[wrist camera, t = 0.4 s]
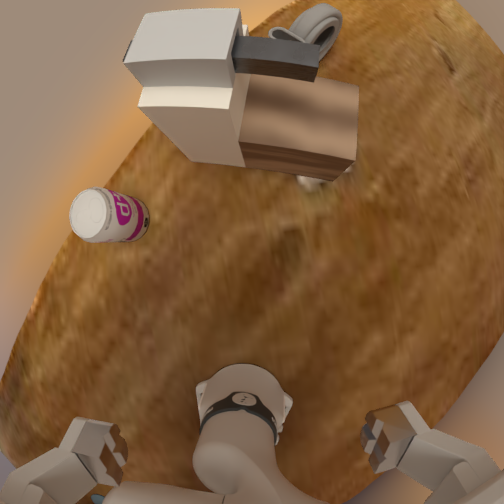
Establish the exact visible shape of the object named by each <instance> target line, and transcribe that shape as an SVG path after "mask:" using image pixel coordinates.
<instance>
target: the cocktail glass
mask: <svg viewBox="0 0 504 504" xmlns="http://www.w3.org/2000/svg"><path fill="white" fill-rule="evenodd" d="M104 498H105V497H104V496H101V495H97V494H93V495H92V496H91V499H92V501H93V502H94V503H95V504H102V502H103V500H104Z"/></svg>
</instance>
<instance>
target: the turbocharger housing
mask: <svg viewBox="0 0 504 504" xmlns="http://www.w3.org/2000/svg"><path fill="white" fill-rule="evenodd" d="M341 26H342V14H341V12H340V11H339V10H337V9H336V8H334V7H332V6H330V5H329V4H326V3H321V4H318V5H315V6H314V7H312V8H310V9H308V10H306V11H305V12H303V13H302V14H301V15H300V16H299V17H298V18H297V19H296V20H295V21H294V23H293V24H292V25H291V27H290V29H289V30H287V29H285V28H283V27H274V28H272V29H270V30H269V32H268V35H269V37H270V38H273V39H282V40H291V41H297V42H303V43H309V44H315V45H320V52H319V61H320V60H321V59H322V58H323V57H324V56H325V54H326V53H327V52H328V50H329V49H330V48H331V46H332V45H333V43H334V41H335V40H336V38H337V36H338V34H339V32H340V29H341Z"/></svg>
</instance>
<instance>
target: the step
mask: <svg viewBox="0 0 504 504" xmlns="http://www.w3.org/2000/svg"><path fill="white" fill-rule="evenodd" d="M358 104H359V86H357V85H353V84H349V83H345V82H340V81H336V80H331V79H326V78H321V77H316V78H315V81H314V83H313V82H308V81H302V80H295V79H289V78H282V77H274V76H265V75H256V74H251V76H250V81H249V86H248V91H247V96H246V101H245V107H244V112H243V117H242V123H241V128H240V134H239V139H238V143H239V146H240V149H241V153H242V156H243V159H244V163H245V166H246V167H247V168H254V169H262V170H269V171H276V172H282V173H289V174H295V175H301V176H307V177H312V178H318V179H324V180H329V181H334V180H335V179H336V178H337V177H338V176H339V175H340V174H341V173H342V172H344V171H345V170H346V169H347V168H348V167H349V166H350V165H351V164H352V163H353V162H355V159H356V145H357V128H358Z"/></svg>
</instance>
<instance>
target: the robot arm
mask: <svg viewBox="0 0 504 504" xmlns="http://www.w3.org/2000/svg"><path fill="white" fill-rule="evenodd" d="M201 393H202V394H201ZM196 396H197V403H198V409H199V416H200V422H201V424H200V437H199V440H198V443H197V445H196V448H195V451H194V454H193V460H192V462H193V468H194V471H195V473H196V475H197V476H198V478H199V479H200V480H201V481H202V483H203V484H204V485H205V486H206V487H207V488H209V489H210V490H211V491H213V492H215V493H210V492H204V491H197V490H192V489H186V488H181V487H176V486H172V485H167V484H157V483H146V482H135V481H125V482H122V483H121V479H122V476H123V471H122V469H121V466H123V465H124V464H125V463H126V461H127V457H128V448H127V443H126V441H125V439H124V438H122V437H121V436H120V435H119V434H120V429H119V427H118V425H117V424H112V423H107V422H102V421H96V420H92V419H86V418H82V417H76V418H74V419H73V421H72V423H71V425H70V427H69V429H68V431H67V432H66V434H65V436H64V438H63V440H62V442H61V444H60V446H59V448H53V449H52V450H50V451H48V452H47V453H45V454H43V455H41V456H40V457H38V458H36V459H34V460H32V461H31V462H29V463H27V464H25V465H23V466H22V467H20V468H18V469H16V470H14V471H13V472H11V473H10V474H9V476H8V478H7V480H6V482H5V484H4V486H3V488H2V490H1V492H0V504H75V503H77V502H78V501H79V500H80V499H81V498H82V497H83V496H85V495H86V494H87V493H88V492H89V491H90V490H91V489H92V488H94V487H95V486H96V485H97V483H101V484H105V485H111V486H115V487H114V488H113V489H112V490H111V491H110V492H109V493H108V494H107V495H106V497H105V498H104V500H103V502H102V504H330V503H327V502H324V501H321V500H318V499H316V498H313V497H311V496H309V495H307V494H305V493H304V492H302V491H300V490H299V489H297V488H296V487H295V486H294V485H292V484H291V483H290V482H289V481H288V480H287V479H286V478H285V477H284V476H283V475H282V473H281V472H280V470H279V468H278V466H277V463H276V457H275V448H274V447H275V445H277V443H278V441H279V435H278V432H282V430H283V426H282V424H283V423H284V422H285V418H286V416H287V414H288V412H289V410H290V408H291V407H292V404H293V399H292V398H291V397H290V396H289V395H288V394H287V393H285V392H284V391H283V390H282V388H281V386H280V384H279V383H278V381H277V380H276V378H275V377H274V376H273V375H272V374H271V373H269V372H268V371H267V370H265V369H263V368H261V367H258V366H255V365H251V364H235V365H230V366H227V367H225V368H223V369H221V370H220V371H218V372H217V373H216V374H215V375H214V376H213V377H212V378H210V379H209V380H206V381H203V382H200V383H198V384H197V386H196ZM285 406H286V407H285ZM365 420H366V422H367V423H366V424H365V425H364V426H363V427H362V430H361V433H360V437H361V444H362V447H363V449H364V451H365V452H367V453H369V454H370V457H369V463H370V465H371V467H372V469H373V471H374V473H375V474H376V473H379V472H383V471H386V470H389V469H392V468H395V467H397V469H398V470H400V471H401V472H403V473H404V474H406V475H407V476H409V477H411V478H412V479H414V480H415V481H417V482H419V483H420V484H422V485H423V486H425V487H427V488H428V489H430V490H432V491H433V493H432V494H431V495H430V496H429V497H428V498H427V499H426V500H425V502H424V504H504V469H503V470H502V471H501V470H500V469H499V467H498V466H497V465H496V463H495V462H494V461H493V459H492V458H491V457H490V456H489V454H488V453H487V452H486V450H485V449H484V448H482V447H479V446H476V445H474V444H471V443H468V442H466V441H463V440H461V439H458V438H455V437H453V436H450V435H448V434H446V433H443V432H441V431H438V430H436V429H431V430H430V428H429V427H428V426H427V424H426V423H425V421H424V420H423V419H422V417H421V416H420V414H419V413H418V412H417V410H416V409H415V408H414V406H413V405H412V404H411V402H409V401H405V402H401V403H398V404H395V405H390V406H387V407H383V408H379V409H376V410H372V411H369V412H368V413H367V414H366V417H365Z"/></svg>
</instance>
